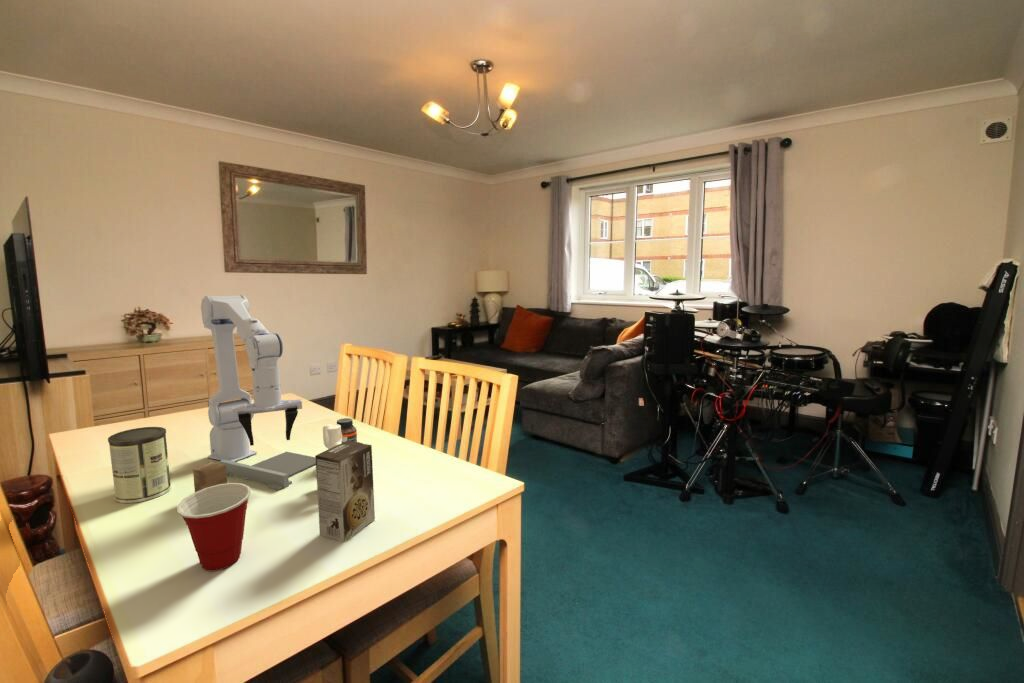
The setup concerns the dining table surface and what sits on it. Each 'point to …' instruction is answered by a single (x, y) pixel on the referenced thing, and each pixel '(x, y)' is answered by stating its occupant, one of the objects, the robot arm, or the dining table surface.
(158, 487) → the coffee can
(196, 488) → the walnut block
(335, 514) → the coffee box
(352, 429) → the supplement bottle
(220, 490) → the plastic cup
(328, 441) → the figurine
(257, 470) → the low wall
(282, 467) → the mat
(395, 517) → the dining table surface
